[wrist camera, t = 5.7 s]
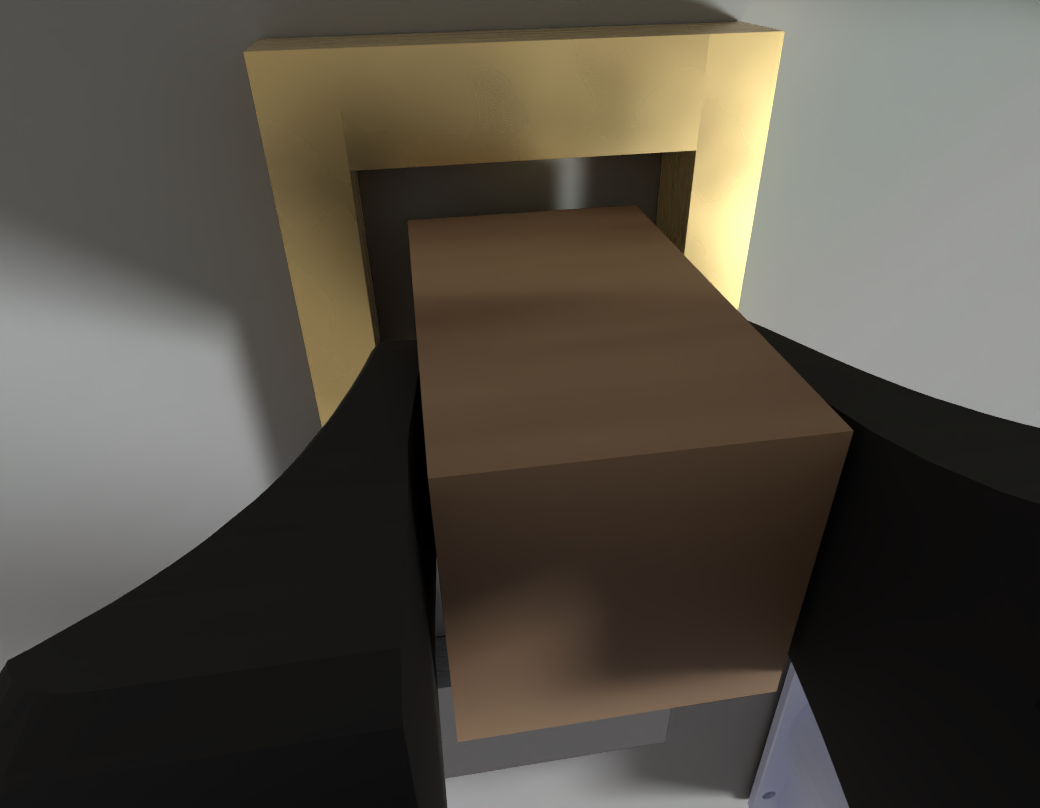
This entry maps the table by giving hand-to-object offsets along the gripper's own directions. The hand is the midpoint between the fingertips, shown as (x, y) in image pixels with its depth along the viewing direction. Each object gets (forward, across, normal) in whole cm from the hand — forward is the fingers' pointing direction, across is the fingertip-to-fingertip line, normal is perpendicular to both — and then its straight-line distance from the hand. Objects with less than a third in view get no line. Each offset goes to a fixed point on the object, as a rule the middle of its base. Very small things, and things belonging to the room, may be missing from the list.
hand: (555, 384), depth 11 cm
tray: (+4, 0, +5) cm, 6 cm away
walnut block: (+3, 0, 0) cm, 3 cm away
